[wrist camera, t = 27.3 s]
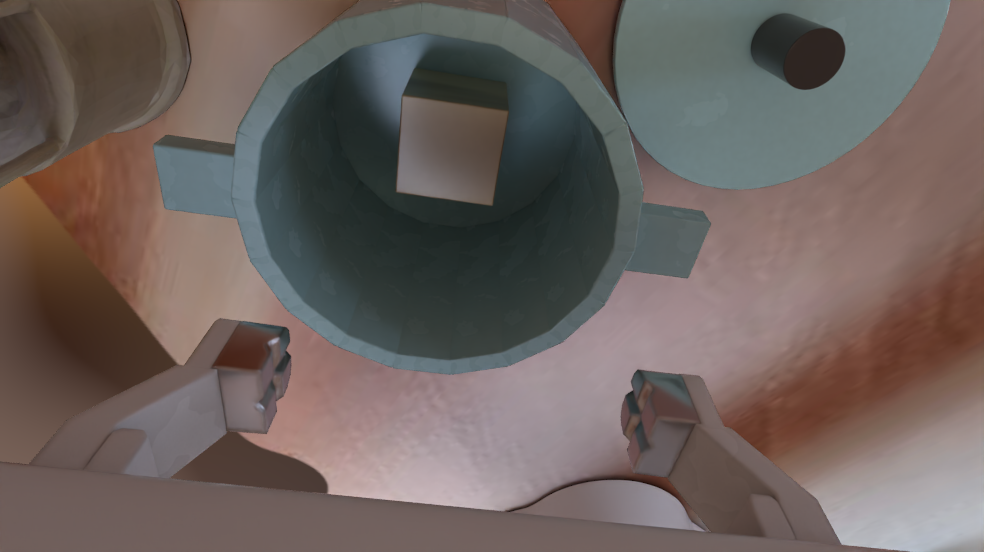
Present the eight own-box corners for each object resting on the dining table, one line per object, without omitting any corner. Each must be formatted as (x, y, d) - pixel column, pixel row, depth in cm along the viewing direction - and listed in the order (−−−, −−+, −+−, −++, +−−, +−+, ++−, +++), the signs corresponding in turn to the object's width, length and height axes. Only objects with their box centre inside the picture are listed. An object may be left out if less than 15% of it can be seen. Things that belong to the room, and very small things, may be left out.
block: (492, 168, 30) (492, 206, 26) (407, 155, 29) (394, 193, 25) (506, 82, 27) (509, 110, 23) (413, 67, 27) (401, 94, 23)
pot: (601, 254, 33) (646, 397, 24) (273, 210, 31) (179, 345, 22) (679, 4, 26) (792, 65, 16) (254, -72, 24) (98, -54, 14)
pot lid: (837, 196, 31) (888, 238, 27) (579, 161, 30) (592, 200, 26) (1010, -126, 23) (1116, -132, 19) (664, -192, 22) (703, -212, 18)
